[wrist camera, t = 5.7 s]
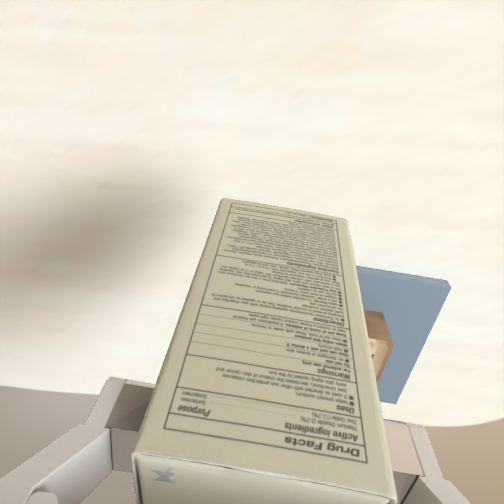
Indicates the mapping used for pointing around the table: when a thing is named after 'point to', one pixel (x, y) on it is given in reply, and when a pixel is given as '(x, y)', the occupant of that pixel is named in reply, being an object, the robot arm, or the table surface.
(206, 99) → the table surface
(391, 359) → the blue board
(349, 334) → the skincare box
